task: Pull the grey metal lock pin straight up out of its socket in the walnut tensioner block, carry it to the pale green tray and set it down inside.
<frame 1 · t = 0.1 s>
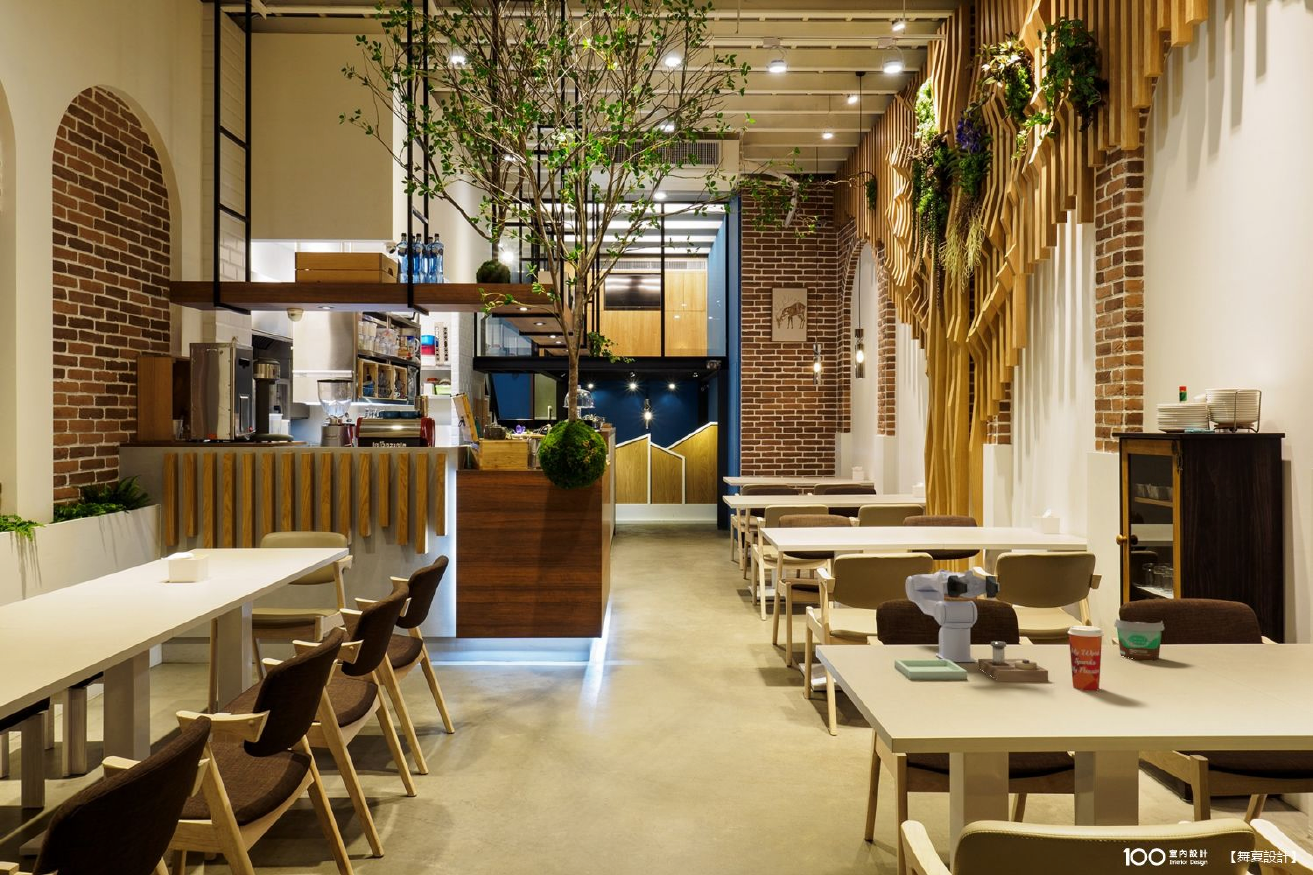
hand: (981, 588, 239), 22 cm above the table, tool horizontal, fingers open, 7 cm apart
tensioner block: (1012, 674, 240), on the table
pin: (998, 673, 241), resting in tensioner block
food container: (1141, 659, 259), on the table
paper cup: (1086, 688, 226), on the table
tray: (929, 673, 241), on the table
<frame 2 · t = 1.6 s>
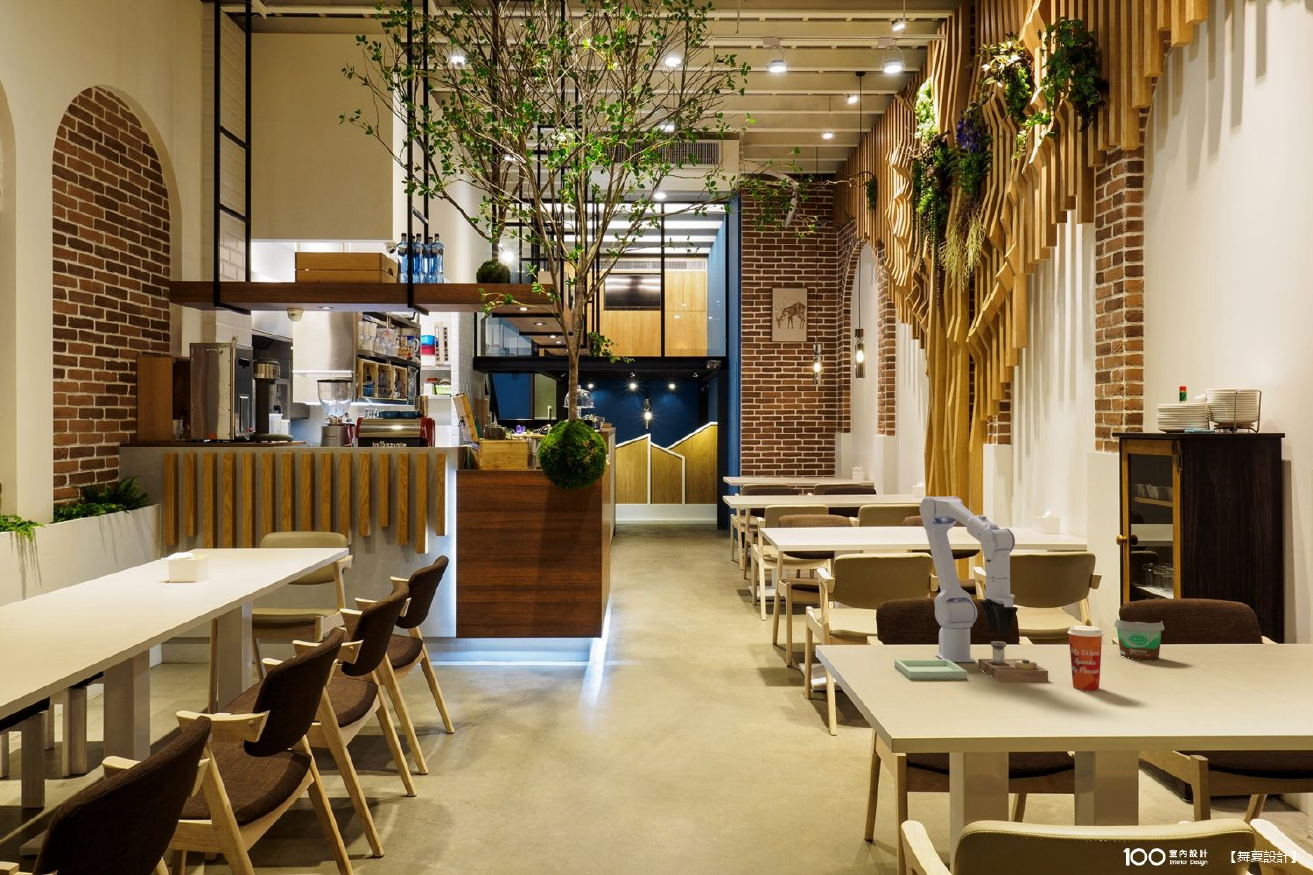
hand: (998, 631, 241), 10 cm above the table, tool pointing down, fingers open, 7 cm apart
nothing on the table moved.
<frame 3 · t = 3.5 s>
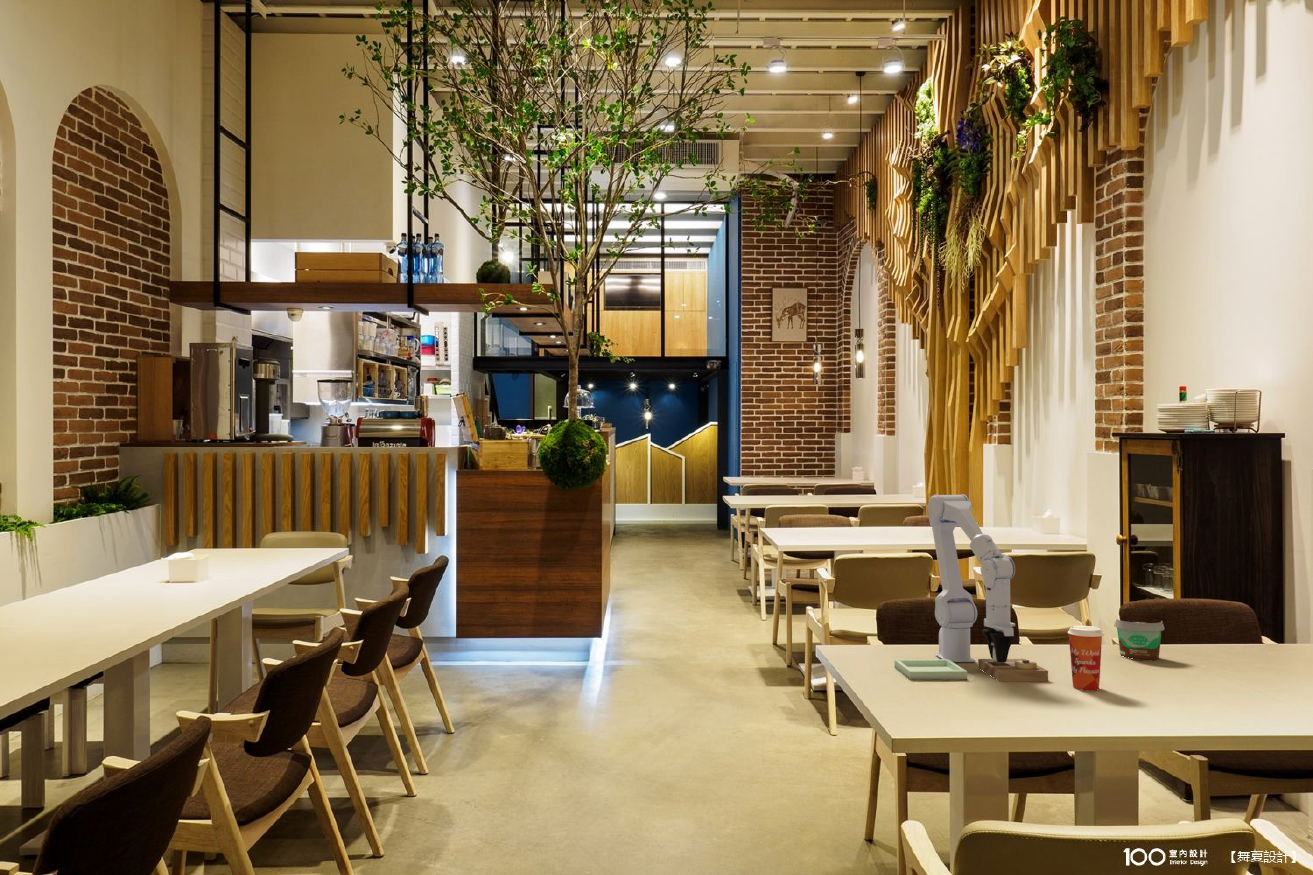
hand: (998, 660, 241), 3 cm above the table, tool pointing down, fingers closed on pin, 3 cm apart
pin: (998, 673, 241), resting in tensioner block, touching gripper
everything else where it was.
when the fingers open (5 cm above the table, at t = 7.1 s): pin stays where it is, resting on tray.
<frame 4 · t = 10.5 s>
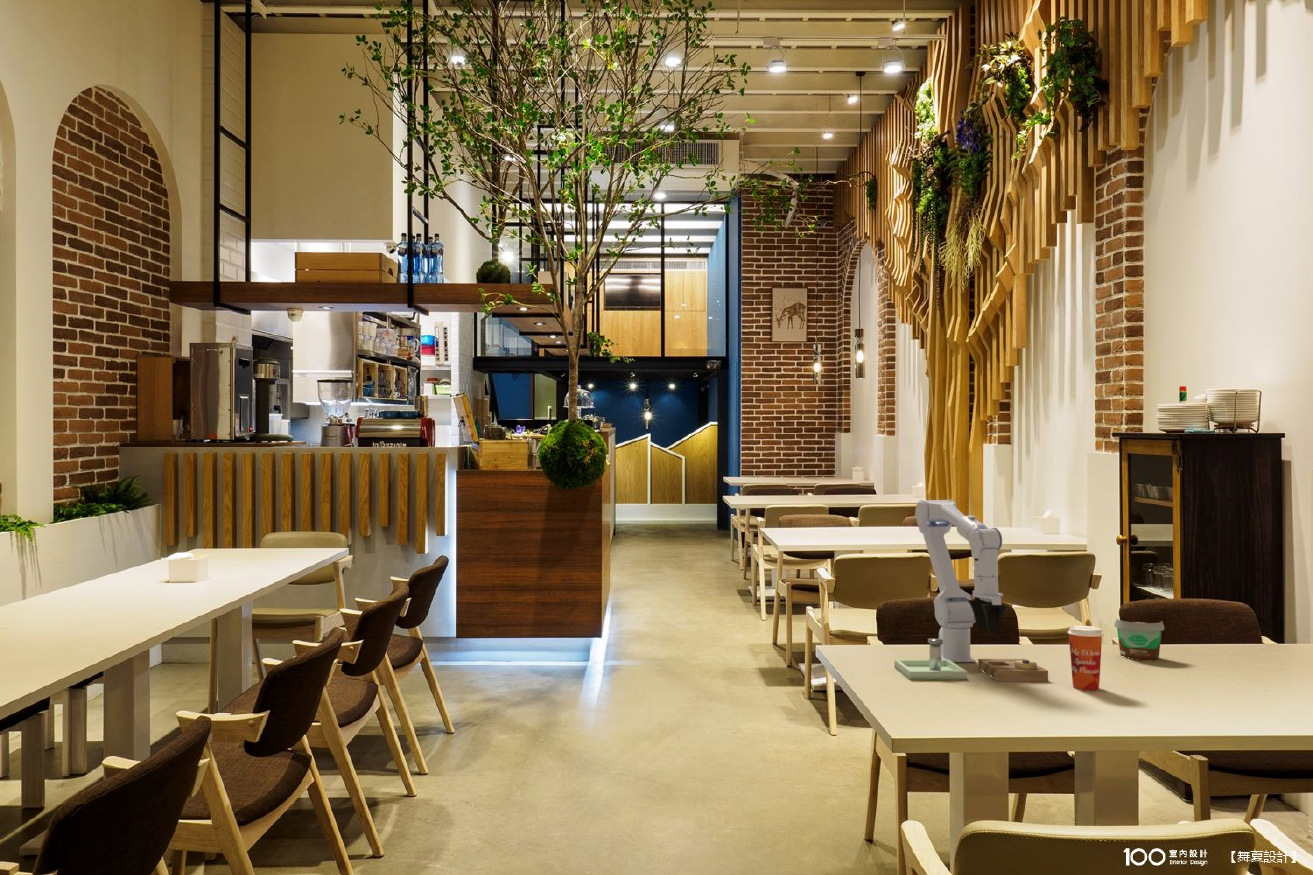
hand: (987, 630, 243), 10 cm above the table, tool pointing down, fingers open, 7 cm apart
pin: (935, 671, 241), point 1 cm above the table, touching tray
everything else where it was.
at the end: pin inside the target area on the tray (1.3 cm from its centre), point 0.6 cm above the tray's base; the gripper is holding nothing; pin touching tray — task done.
